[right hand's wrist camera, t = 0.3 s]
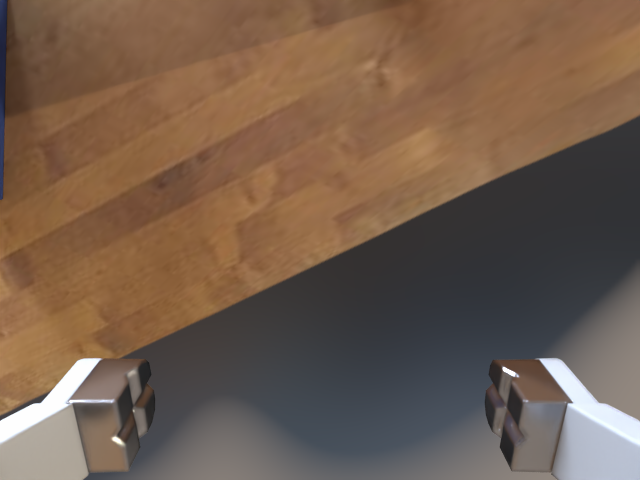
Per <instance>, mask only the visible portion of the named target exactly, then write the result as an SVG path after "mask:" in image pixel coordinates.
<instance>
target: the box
mask: <svg viewBox="0 0 640 480" xmlns="http://www.w3.org/2000/svg"><path fill="white" fill-rule="evenodd" d="M6 29H7V0H0V200H1V199H3V164H4V119H5V74H6Z"/></svg>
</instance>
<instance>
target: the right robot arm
mask: <svg viewBox="0 0 640 480" xmlns="http://www.w3.org/2000/svg"><path fill="white" fill-rule="evenodd" d="M150 376H151V370H150V365H149V362H148V361H147V360H145V359H102V358H84V359H81V360H78V361H77V362H76V363H75V365H74V366H73V367H72V368H71V369H70V370H69V371H68V373H67V374H66V375H65V376H64V377H63V378H62V380H61V381H60V382H59V383H58V384H57V385H56V387H55V388H54V389H53V390H52V391H51V392H50V394H49V395H48V396H47V397H46V398H45V399H44V400H43V402H42V403H41V404H32V405H30V406H28V407H26V408H24V409H23V410H21V411H19V412H17V413H15V414H13V415H11V416H9V417H7V418H5V419H3V420H1V421H0V480H83V479H84V478H85V477H86V476H88V474H89V473H88V472H120V471H129V469H130V467H131V465H132V463H133V461H134V459H135V457H136V454H137V453H138V451H139V448H140V443H139V438H140V437H141V436H143V435H144V434H145V433H147V432H148V430H149V428H150V426H151V423H152V420H153V415H154V411H155V396H154V390H153V389H152V388H151V387H150V386H149V385H148V384H147V382H148V380H149V378H150ZM489 376H490V378H491V380H492V382H493V384H492V385H491V386H490V387H489V388H488V389H487V390H486V396H485V410H486V416H487V420H488V423H489V426H490V428H491V430H492V432H493V433H495V434H496V435H498V436H499V437H500V438H501V443H500V448H501V451H502V453H503V455H504V457H505V459H506V461H507V463H508V465H509V467H510V469H511V471H519V472H552V473H551V474H552V475H553V476H554V477H555V478H556V479H557V480H640V421H639V420H637V419H635V418H633V417H631V416H629V415H627V414H625V413H623V412H621V411H619V410H617V409H616V408H614V407H612V406H610V405H608V404H599V403H598V402H597V400H596V399H595V398H594V397H593V396H592V395H591V394H590V392H589V391H588V390H587V389H586V388H585V387H584V385H583V384H582V383H581V382H580V381H579V380H578V378H577V377H576V376H575V375H574V374H573V373H572V372H571V370H570V369H569V368H568V367H567V366H566V365H565V363H564V362H563V361H562V360H560V359H558V358H546V359H523V360H493V361H492V363H491V365H490V370H489Z"/></svg>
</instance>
